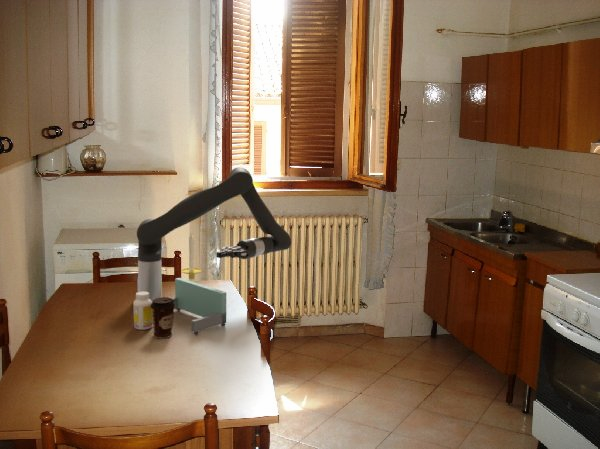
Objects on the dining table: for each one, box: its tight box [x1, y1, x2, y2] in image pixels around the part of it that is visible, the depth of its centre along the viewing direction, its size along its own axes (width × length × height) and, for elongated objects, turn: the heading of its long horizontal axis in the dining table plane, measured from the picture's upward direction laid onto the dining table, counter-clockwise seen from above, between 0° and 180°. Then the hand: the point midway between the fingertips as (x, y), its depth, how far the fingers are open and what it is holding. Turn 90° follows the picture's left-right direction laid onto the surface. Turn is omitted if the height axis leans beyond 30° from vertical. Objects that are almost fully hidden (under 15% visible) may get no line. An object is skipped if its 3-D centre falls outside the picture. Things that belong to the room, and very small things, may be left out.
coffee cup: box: [150, 296, 175, 339], centre depth 239 cm, size 9×8×13 cm
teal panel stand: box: [171, 277, 227, 336], centre depth 253 cm, size 28×15×13 cm, turn 48°
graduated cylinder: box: [181, 231, 202, 283], centre depth 289 cm, size 10×10×27 cm
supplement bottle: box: [132, 291, 153, 331], centre depth 247 cm, size 7×7×13 cm
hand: (217, 255), depth 261 cm, fingers closed
